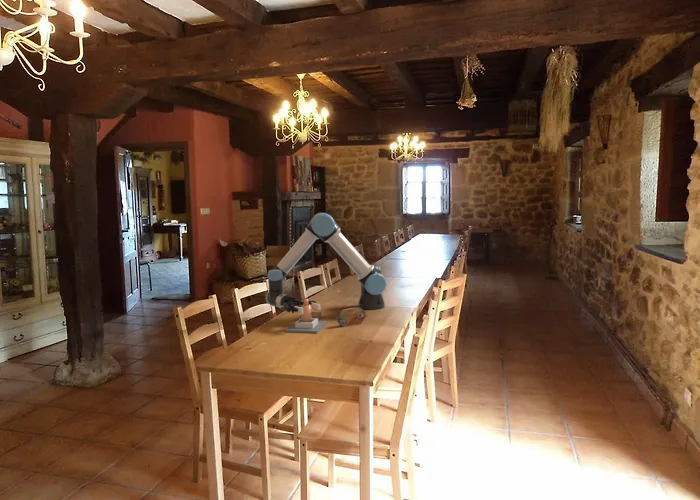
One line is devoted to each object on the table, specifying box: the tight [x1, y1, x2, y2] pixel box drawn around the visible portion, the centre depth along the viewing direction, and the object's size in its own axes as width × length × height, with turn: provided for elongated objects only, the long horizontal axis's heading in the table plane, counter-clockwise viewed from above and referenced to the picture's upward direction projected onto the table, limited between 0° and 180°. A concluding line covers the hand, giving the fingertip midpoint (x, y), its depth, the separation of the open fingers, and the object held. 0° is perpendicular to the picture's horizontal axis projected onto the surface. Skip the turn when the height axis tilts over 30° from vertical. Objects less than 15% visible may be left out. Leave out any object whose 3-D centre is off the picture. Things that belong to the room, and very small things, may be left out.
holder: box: [284, 317, 328, 334], centre depth 250 cm, size 16×18×4 cm
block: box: [299, 311, 322, 320], centre depth 267 cm, size 9×9×2 cm
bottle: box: [300, 298, 312, 323], centre depth 249 cm, size 5×5×13 cm
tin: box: [336, 307, 366, 328], centre depth 253 cm, size 15×3×8 cm, turn 117°
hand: (311, 309), depth 245 cm, fingers open, 9 cm apart
